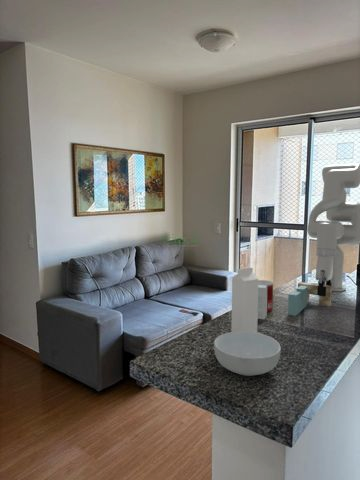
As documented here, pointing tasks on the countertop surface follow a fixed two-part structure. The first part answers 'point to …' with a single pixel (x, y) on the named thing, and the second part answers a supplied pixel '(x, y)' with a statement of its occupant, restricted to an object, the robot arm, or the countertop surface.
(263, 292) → the skincare box
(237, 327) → the milk
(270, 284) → the canned food
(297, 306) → the light blue block
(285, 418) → the countertop surface
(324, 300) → the beige flat block
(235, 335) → the cereal bowl
